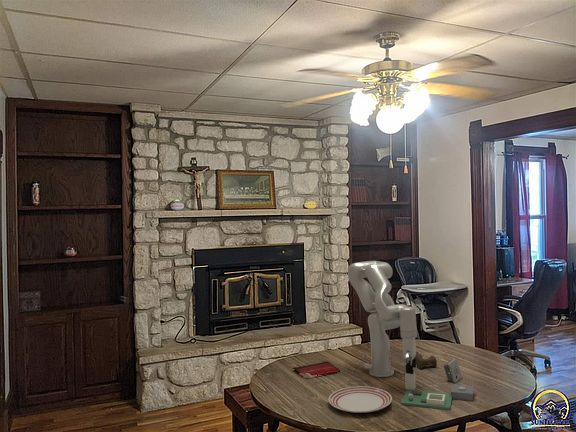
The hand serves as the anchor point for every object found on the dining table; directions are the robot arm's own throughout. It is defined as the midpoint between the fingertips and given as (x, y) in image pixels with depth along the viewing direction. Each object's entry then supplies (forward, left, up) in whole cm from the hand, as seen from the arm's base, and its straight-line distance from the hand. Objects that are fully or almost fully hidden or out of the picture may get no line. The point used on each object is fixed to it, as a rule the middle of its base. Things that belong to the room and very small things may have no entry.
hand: (411, 370), depth 229 cm
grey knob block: (+22, -3, -9) cm, 24 cm away
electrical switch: (+17, +17, -9) cm, 26 cm away
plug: (-1, +1, -9) cm, 9 cm away
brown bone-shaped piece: (+1, +35, -9) cm, 36 cm away
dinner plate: (-19, -24, -9) cm, 32 cm away
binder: (-51, +12, -9) cm, 53 cm away
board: (+8, -12, -9) cm, 17 cm away
